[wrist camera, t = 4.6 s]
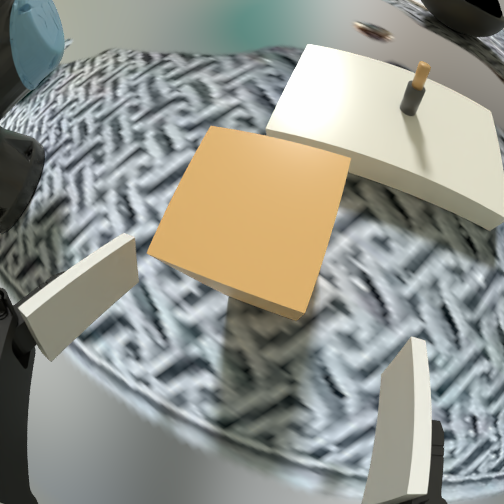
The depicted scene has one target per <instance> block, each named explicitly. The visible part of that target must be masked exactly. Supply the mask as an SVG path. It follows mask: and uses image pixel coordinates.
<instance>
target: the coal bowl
mask: <svg viewBox="0 0 504 504" xmlns="http://www.w3.org/2000/svg"><path fill="white" fill-rule="evenodd" d="M421 1H422V3H423V4H424V5H425V7H426V8H427V9H428V10H429V11H430V13H431V14H433V15H434V16H435V17H436V18H437V19H438V20H439V21H441V22H442V23H443V24H445V25H446V26H448V27H450V28H451V29H453V30H455V31H457V32H460V33H462V34H465V35H469V36H474V37H487V36H491V35H494V34H496V33H498V32H499V31H501V30H502V29H503V28H504V17H503V15H502V11H501V8H500V4H499V2H498V0H421Z"/></svg>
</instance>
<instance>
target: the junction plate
mask: <svg viewBox="0 0 504 504" xmlns="http://www.w3.org/2000/svg"><path fill="white" fill-rule="evenodd" d="M430 68H431V67H430V66H429V65H428V64H427V63H425V62H422V61H420V62H419V64H418V67H417V70H416V73H413V72H410V71H407V70H405V69H402V68H399V67H396V66H394V65H391V64H388V63H385V62H381V61H378V60H375V59H372V58H368V57H365V56H361V55H357V54H353V53H349V52H345V51H341V50H336V49H331V48H327V47H322V46H316V45H311V44H308V45H307V47H306V49H305V51H304V52H303V54H302V56H301V58H300V60H299V62H298V64H297V66H296V68H295V70H294V72H293V74H292V76H291V78H290V80H289V82H288V84H287V86H286V88H285V90H284V92H283V94H282V96H281V98H280V100H279V102H278V104H277V106H276V108H275V110H274V112H273V114H272V116H271V118H270V120H269V122H268V125H267V127H266V134H267V136H269V137H274V138H278V139H283V140H287V141H291V142H295V143H299V144H303V145H307V146H311V147H315V148H318V149H322V150H326V151H329V152H333V153H336V154H339V155H343V156H346V157H349V158H351V161H350V165H349V169H348V172H349V173H352V174H355V175H358V176H361V177H364V178H367V179H370V180H373V181H376V182H378V183H381V184H384V185H387V186H389V187H392V188H395V189H397V190H400V191H403V192H405V193H408V194H410V195H413V196H415V197H418V198H420V199H422V200H425V201H427V202H430V203H432V204H434V205H437V206H439V207H441V208H443V209H446V210H448V211H450V212H452V213H454V214H456V215H459V216H461V217H463V218H465V219H467V220H469V221H471V222H473V223H475V224H477V225H479V226H481V227H483V228H485V229H487V230H489V231H490V230H492V229H494V228H495V227H497V226H498V225H500V224H501V223H503V222H504V173H503V166H502V159H501V154H500V148H499V143H498V138H497V134H496V130H495V125H494V121H493V118H492V114H491V111H489V110H488V109H486V108H484V107H483V106H481V105H479V104H478V103H476V102H474V101H472V100H470V99H468V98H467V97H465V96H463V95H461V94H459V93H457V92H455V91H453V90H451V89H449V88H447V87H445V86H443V85H441V84H439V83H437V82H434V81H432V80H430V79H427V77H428V74H429V71H430Z"/></svg>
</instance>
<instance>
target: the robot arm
mask: <svg viewBox="0 0 504 504" xmlns="http://www.w3.org/2000/svg"><path fill="white" fill-rule="evenodd" d="M64 46H65V42H64V33H63V28H62V24H61V20H60V17H59V14H58V12H57V9H56V7H55V5H54V3H53V1H52V0H0V120H1V119H2V118H3V117H4V116H5V115H6V114H7V113H8V112H9V111H10V110H11V109H12V108H13V107H14V106H15V105H16V104H17V103H18V102H19V101H20V100H21V99H22V98H23V97H24V96H25V95H26V94H27V93H28V92H30V91H31V90H33V89H35V88H36V87H37V86H38V84H39V82H40V81H41V80H42V79H43V78H45V77H46V76H47V75H48V74H49V73H50V72H51V71H53V70H54V69H55V68H56V67H57V66H58V64H59V63H60V61H61V59H62V57H63V53H64ZM44 157H45V152H44V148H43V146H42V145H41V144H40V143H39V142H38V141H37V140H35V139H34V138H32V137H30V136H27V135H23V134H20V133H17V132H13V131H10V130H6V129H4V128H2V127H1V126H0V234H2V233H4V232H6V231H7V230H9V229H10V228H11V227H12V226H13V225H14V224H15V222H16V221H17V220H18V219H19V217H20V216H21V214H22V213H23V211H24V209H25V208H26V206H27V204H28V202H29V201H30V199H31V197H32V195H33V192H34V190H35V188H36V186H37V183H38V181H39V178H40V175H41V172H42V168H43V164H44ZM138 282H139V278H138V269H137V259H136V247H135V237H133V236H130V235H128V234H125V233H123V234H121V235H120V236H118V237H116V238H115V239H113V240H112V241H110V242H109V243H107V244H106V245H104V246H102V247H101V248H99V249H98V250H96V251H95V252H93V253H92V254H90V255H89V256H87V257H86V258H84V259H83V260H81V261H80V262H79V263H77V264H76V265H74V266H73V267H71V268H70V269H69V270H67V271H66V272H61V273H59V274H56V275H54V276H52V277H51V278H50V279H48V280H47V281H46V282H45V283H43V284H41V285H40V286H39V288H38V287H37V288H36V289H35V290H33V291H32V292H31V293H29V294H28V295H27V296H26V297H24V298H23V299H22V300H20V301H19V302H18V303H17V304H15V305H12V303H11V301H10V299H9V297H8V294H7V292H6V290H4V289H3V288H0V503H3V504H38V502H37V500H36V498H35V497H34V496H33V494H32V493H31V491H30V486H29V475H28V460H27V421H28V406H29V395H30V385H31V378H32V371H33V364H34V358H35V345H38V347H39V349H40V350H41V352H42V353H43V354H44V355H45V356H46V357H47V358H48V359H49V360H50V361H51V362H52V361H53V360H54V359H55V358H56V357H57V356H58V355H59V354H60V353H61V352H62V351H63V350H64V349H65V348H66V347H67V346H68V345H69V344H70V343H72V342H73V341H74V340H75V339H76V338H77V337H78V336H79V335H80V334H81V333H82V332H83V331H84V330H85V329H86V328H88V327H89V326H90V325H91V324H92V323H93V322H94V321H95V320H96V319H97V318H98V317H100V316H101V315H102V314H103V313H104V312H105V311H106V310H107V309H108V308H110V307H111V306H112V305H113V304H114V303H115V302H116V301H117V300H119V299H120V298H121V297H122V296H123V295H124V294H125V293H127V292H128V291H129V290H130V289H131V288H132V287H133V286H135V285H136V284H137V283H138ZM443 446H444V431H443V428H442V426H441V423H440V421H436V420H432V417H431V391H430V377H429V366H428V357H427V349H426V342H425V341H424V340H421V339H418V338H414V337H410V339H409V340H408V341H407V343H406V344H405V345H404V347H403V348H402V349H401V351H400V352H399V353H398V355H397V356H396V357H395V358H394V360H393V361H392V362H391V363H390V365H389V366H388V367H387V368H386V369H385V371H384V372H383V373H382V374H381V386H380V399H379V409H378V418H377V426H376V433H375V440H374V447H373V453H372V458H371V464H370V469H369V474H368V478H367V483H366V487H365V492H364V496H363V500H362V503H361V504H447V502H446V500H445V499H443V498H442V496H441V488H442V477H443V461H444V458H443V455H444V448H443Z"/></svg>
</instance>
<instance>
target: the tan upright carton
mask: <svg viewBox="0 0 504 504" xmlns="http://www.w3.org/2000/svg"><path fill="white" fill-rule="evenodd" d="M350 161H351V158H349V157H346V156H343V155H339V154H336V153H333V152H329V151H326V150H322V149H318V148H315V147H311V146H307V145H303V144H299V143H295V142H291V141H287V140H283V139H278V138H274V137H269V136H265V135H260V134H255V133H250V132H244V131H239V130H233V129H227V128H221V127H215V126H210V128H209V130H208V132H207V133H206V135H205V137H204V138H203V140H202V142H201V144H200V146H199V147H198V149H197V151H196V153H195V155H194V156H193V158H192V160H191V162H190V164H189V166H188V168H187V169H186V171H185V173H184V175H183V177H182V179H181V181H180V183H179V185H178V187H177V189H176V191H175V193H174V195H173V197H172V199H171V201H170V203H169V205H168V207H167V209H166V211H165V213H164V216H163V218H162V220H161V222H160V224H159V226H158V229H157V231H156V233H155V235H154V238H153V240H152V242H151V244H150V247H149V249H148V251H147V254H149V255H150V256H152V257H154V258H156V259H158V260H160V261H161V262H163V263H165V264H167V265H169V266H171V267H173V268H174V269H176V270H178V271H180V272H182V273H184V274H186V275H188V276H190V277H192V278H194V279H195V280H197V281H199V282H201V283H203V284H205V285H207V286H209V287H211V288H213V289H215V290H217V291H219V292H221V293H223V294H225V295H227V296H229V297H232V298H235V299H237V300H240V301H242V302H245V303H248V304H250V305H253V306H256V307H259V308H261V309H264V310H267V311H270V312H272V313H275V314H278V315H281V316H284V317H286V318H289V319H292V320H295V321H297V320H298V319H299V318H300V317H302V316H303V315H304V314H305V312H306V309H307V306H308V303H309V300H310V297H311V295H312V292H313V289H314V286H315V283H316V280H317V277H318V274H319V271H320V268H321V264H322V261H323V258H324V255H325V252H326V249H327V245H328V242H329V239H330V235H331V232H332V229H333V225H334V222H335V218H336V215H337V211H338V208H339V204H340V200H341V197H342V193H343V189H344V185H345V181H346V177H347V173H348V169H349V165H350Z"/></svg>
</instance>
